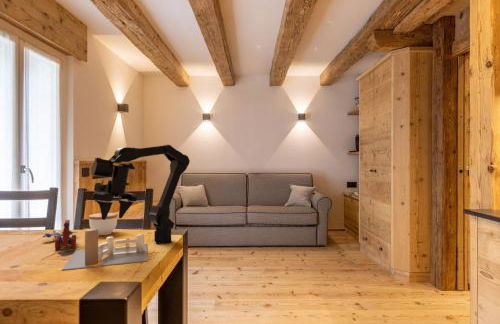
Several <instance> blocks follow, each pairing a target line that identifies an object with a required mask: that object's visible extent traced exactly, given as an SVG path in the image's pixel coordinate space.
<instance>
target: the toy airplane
mask: <svg viewBox="0 0 500 324" xmlns="http://www.w3.org/2000/svg"><path fill="white" fill-rule="evenodd" d="M63 231H64V229H62V232H63ZM52 232H53V233H45V234H44V235H42V236H41V237H42V238H46V237H47V238H52V237H53V238H55V239H57V237H58V236H62V232H60V231H58V230H56V229H55V230H54V231H53V230H52ZM76 233H77V230H74V231H71V230H70V236H72V235H73V234H76Z"/></svg>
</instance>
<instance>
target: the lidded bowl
mask: <svg viewBox="0 0 500 324" xmlns="http://www.w3.org/2000/svg"><path fill="white" fill-rule="evenodd" d="M118 217H119V213H116V212H109V213H108V215H107V217H106V219H105V220H103V219H102V215H101V212H100V213H99V212H98V213H94V214H93V213H92V214H89V215H88V223H89V228H90V229H98V236H107V235H111V234H112V233H113V231H114V230H116V227H117V224H118Z"/></svg>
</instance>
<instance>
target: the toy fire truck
mask: <svg viewBox="0 0 500 324" xmlns="http://www.w3.org/2000/svg"><path fill="white" fill-rule="evenodd" d="M70 222H71V221H70V219H66V220H65V221H64V223H63V230H64V231H63V230H62V231H63V232H61V233H62V236H58V237H56V238H55V240H54V250H60V249H61V248H67V247H69V245H70V248H71V249H73V248H75V247H76V245H77V235H76V234H71V235H70V231H71V230H70Z"/></svg>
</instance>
